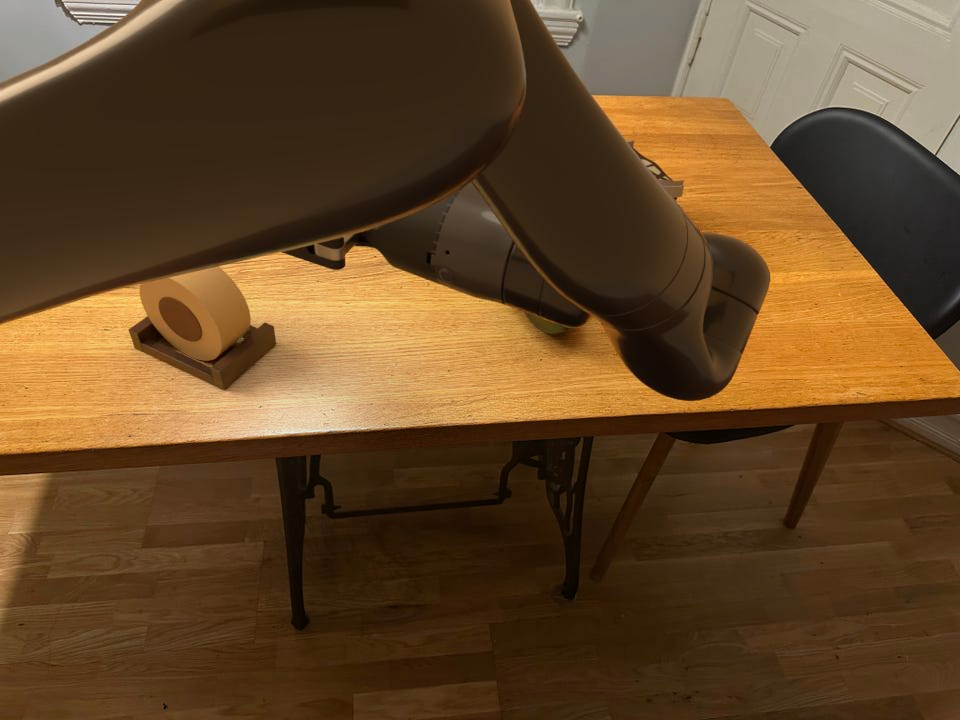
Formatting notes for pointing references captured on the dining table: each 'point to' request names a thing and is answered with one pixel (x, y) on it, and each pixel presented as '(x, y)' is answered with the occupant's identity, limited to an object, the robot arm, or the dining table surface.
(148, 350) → the holder
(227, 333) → the tape roll
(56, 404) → the dining table surface
